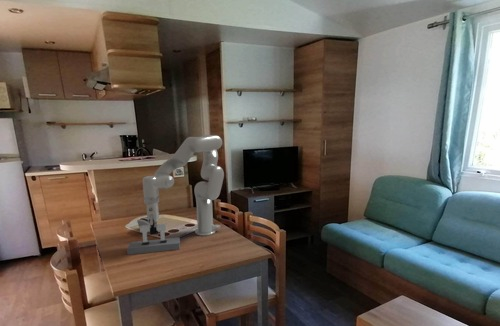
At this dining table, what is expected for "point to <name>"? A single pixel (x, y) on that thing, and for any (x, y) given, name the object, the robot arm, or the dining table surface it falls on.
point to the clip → (161, 227)
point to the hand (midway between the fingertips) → (153, 232)
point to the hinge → (144, 223)
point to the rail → (153, 246)
